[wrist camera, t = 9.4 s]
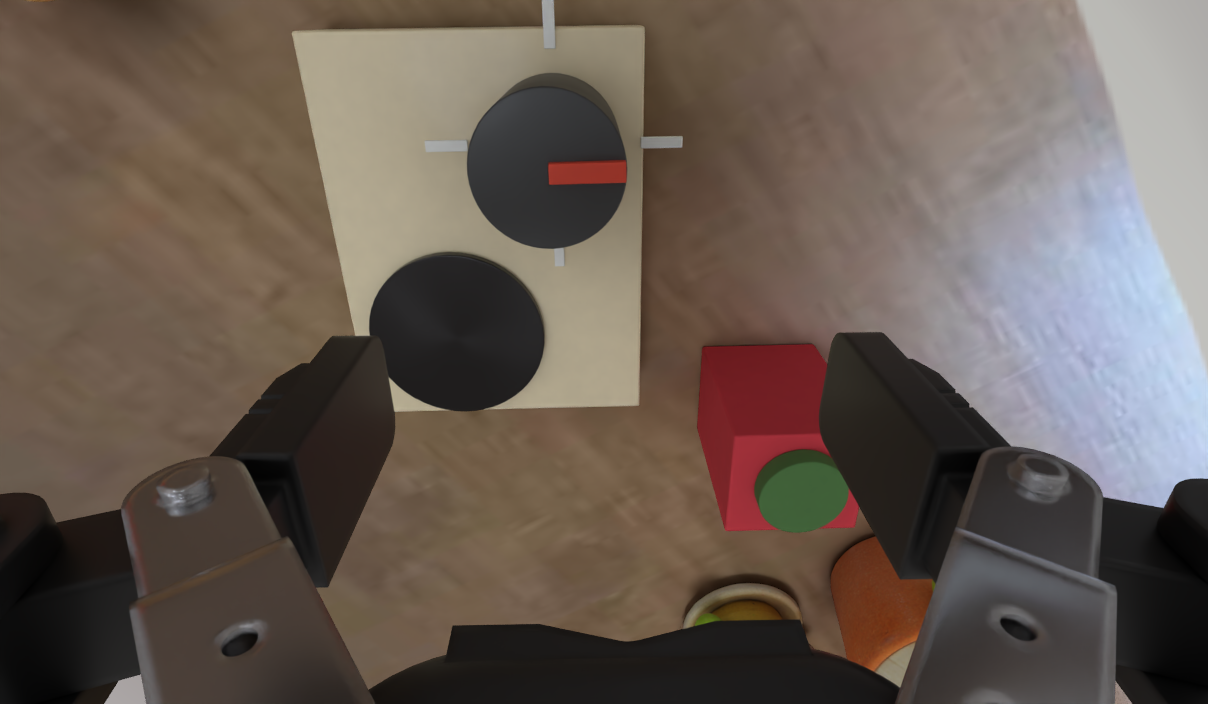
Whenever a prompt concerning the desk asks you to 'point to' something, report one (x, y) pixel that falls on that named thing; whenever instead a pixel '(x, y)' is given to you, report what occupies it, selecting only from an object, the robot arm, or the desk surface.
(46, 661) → the robot arm
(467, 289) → the burner
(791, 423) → the red block green button
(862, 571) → the toy tea set
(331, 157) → the hob
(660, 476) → the desk surface
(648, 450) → the desk surface
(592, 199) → the hob knob
